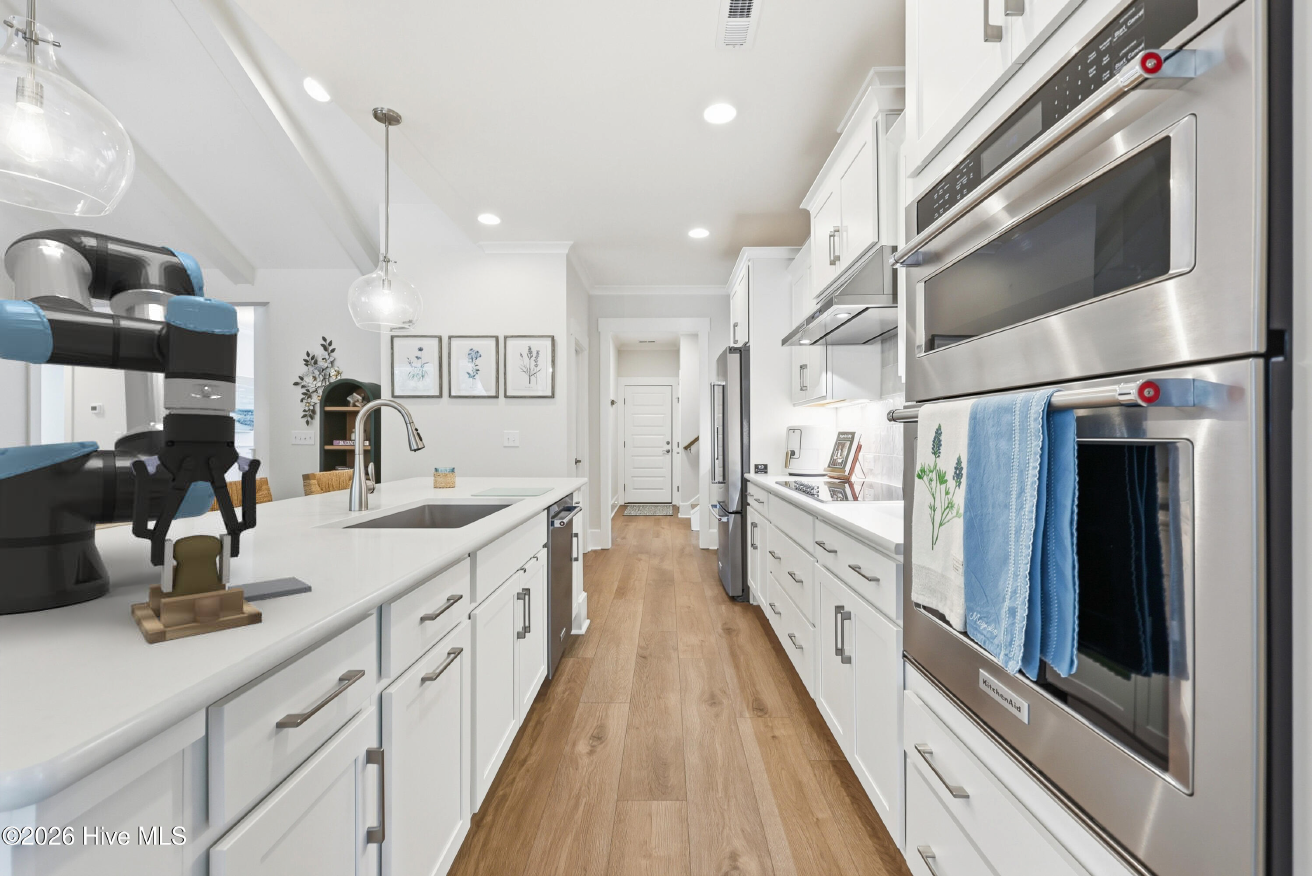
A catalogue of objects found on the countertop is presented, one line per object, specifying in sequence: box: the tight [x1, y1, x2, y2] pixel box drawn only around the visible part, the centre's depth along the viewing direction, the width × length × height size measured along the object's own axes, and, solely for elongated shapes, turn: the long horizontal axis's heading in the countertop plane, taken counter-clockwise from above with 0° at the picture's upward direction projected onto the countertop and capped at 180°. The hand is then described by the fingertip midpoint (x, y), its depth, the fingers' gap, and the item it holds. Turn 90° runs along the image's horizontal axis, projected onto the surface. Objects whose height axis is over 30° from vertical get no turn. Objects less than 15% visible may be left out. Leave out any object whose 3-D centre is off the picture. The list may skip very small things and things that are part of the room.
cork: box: [170, 534, 222, 598], centre depth 74 cm, size 6×6×11 cm
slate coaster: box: [227, 576, 312, 603], centre depth 87 cm, size 9×9×1 cm
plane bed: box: [130, 564, 263, 644], centre depth 74 cm, size 17×11×6 cm, turn 49°
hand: (196, 585), depth 74 cm, fingers open, 5 cm apart
